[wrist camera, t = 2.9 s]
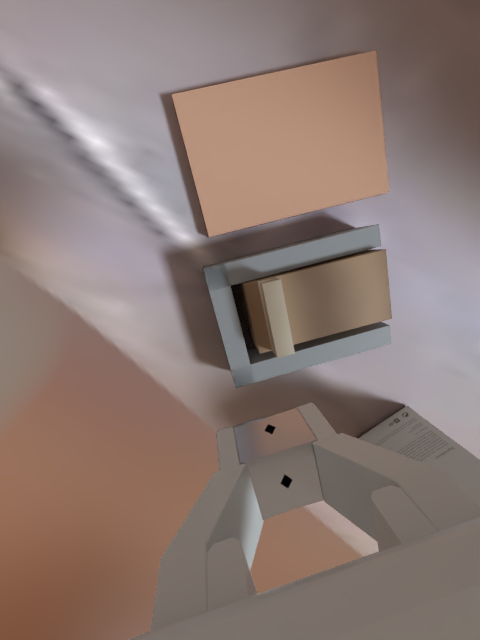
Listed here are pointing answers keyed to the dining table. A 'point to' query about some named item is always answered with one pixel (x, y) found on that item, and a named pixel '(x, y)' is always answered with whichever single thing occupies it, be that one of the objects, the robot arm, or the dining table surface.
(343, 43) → the dining table surface
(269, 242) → the dining table surface
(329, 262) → the walnut block
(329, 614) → the robot arm
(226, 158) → the rubber pad
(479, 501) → the skincare box
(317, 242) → the frame
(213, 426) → the dining table surface
